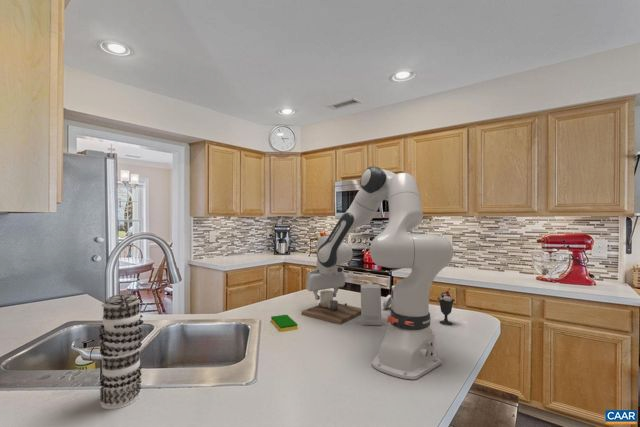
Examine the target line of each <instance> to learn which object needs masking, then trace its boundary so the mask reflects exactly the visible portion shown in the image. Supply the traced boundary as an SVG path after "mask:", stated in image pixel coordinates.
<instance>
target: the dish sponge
mask: <svg viewBox="0 0 640 427" xmlns="http://www.w3.org/2000/svg"><path fill="white" fill-rule="evenodd" d="M270 320H271V321H270V322H271V323H272V324H273V325H274V327H276V329H277V330H278V331H279V332H280V333H283V332H289V331H297V330H298V327H299V326H298V323H297V322H296V321H295V320H294V319H292V317H290V316H289V315H288V314H281V315H273V316H270Z"/></svg>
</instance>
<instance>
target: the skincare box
mask: <svg viewBox="0 0 640 427" xmlns="http://www.w3.org/2000/svg"><path fill="white" fill-rule="evenodd" d="M381 289H382V288H381V285H380V284H374V283H373V284H364V283H363V284H362V283H361V284H360V308H361V315H360V316H361V317H360V318H361V319H360V320H361V325H362V326H382V291H381Z"/></svg>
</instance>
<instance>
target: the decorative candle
mask: <svg viewBox="0 0 640 427" xmlns="http://www.w3.org/2000/svg"><path fill="white" fill-rule="evenodd" d="M141 301H142V300H141V299H140V298H138V297H137V296H136V295H135V294H131V293H123V294H122V293H121V294H115V295H112V296H110V297H109V298H107V299H106V301H105V302H103V303H102V304H101V307H103V308H102V309H103V311H102V312H103V314H102V315H103V316H102V324H101V325H100V327H99V328H98V329H99V330H98V331H99V334H98V336H99V338H98V339H99V340H101V341H100V343H99V346H100V349H99V353H100V354H99V355H100V356H101V357H102V360H103V361H102V365H101V366H102V367H101V370H102V373H100V376H99V377H100V378H99V379H100V381H99V382H100V383H99V384H100V386H101V387H100V389H99V391H100V392H99V393H100V395H99V398H100V399H99V400H100V407H101V408H103V409H105V410H106V409H107V410H116V409H121V408H125V407H127V406H130V405H131V404H134V403H135V402H137V401H138V400H139V399H140V397H141V396H142V392H141V390H142V386H141V383H142V382H143V381H142V378H141V377H142V373H141V372H142V371H141V370H142V369H143V368H142V365H141V359H140V350H141V349H142V345H143V344H142V342H141V341H140V340H141V339H142V338H143V334H141V333H142V332H143V328H142V327H140V326H141V325H142V324H144V320H143V319H142V318H143V317H144V316H143V315H142V314H141V312H140V303H141Z"/></svg>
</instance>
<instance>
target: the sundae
mask: <svg viewBox="0 0 640 427" xmlns="http://www.w3.org/2000/svg"><path fill="white" fill-rule="evenodd" d="M450 290H451V288H450V287H448V290H446V291H444V292H441V294H440V296H438V297H437V300H438V302H439V309H440V312H441V313H442V315H444V317H443V318H444V320H440V321H439V323H440V324H441V325H443V326H452V325H453V322H451V321H449V319H448V315H450V314H451V313H452V311H453V310H452V308H453V303H454V302H455V301H456V299H454V298H452V296H451V294H450Z"/></svg>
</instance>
